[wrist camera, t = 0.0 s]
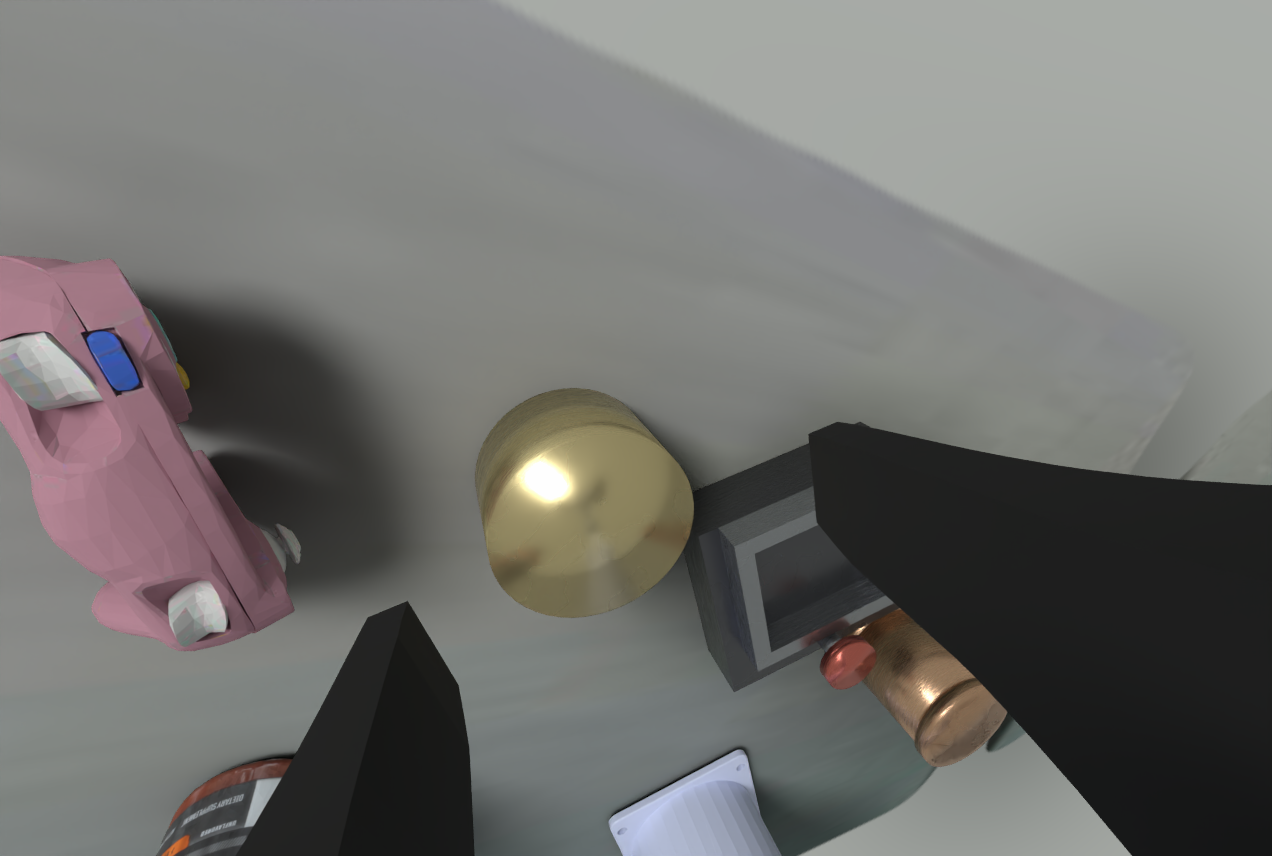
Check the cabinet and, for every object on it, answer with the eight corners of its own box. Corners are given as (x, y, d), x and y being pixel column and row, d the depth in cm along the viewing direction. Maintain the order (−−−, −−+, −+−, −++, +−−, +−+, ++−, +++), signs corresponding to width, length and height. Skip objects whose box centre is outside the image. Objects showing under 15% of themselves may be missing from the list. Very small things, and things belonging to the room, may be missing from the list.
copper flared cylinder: (912, 645, 32) (1005, 734, 27) (841, 682, 31) (923, 782, 26) (912, 585, 30) (1014, 670, 25) (836, 623, 29) (925, 720, 24)
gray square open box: (866, 573, 28) (940, 640, 24) (708, 650, 26) (760, 735, 22) (860, 421, 24) (949, 472, 20) (671, 501, 22) (727, 574, 18)
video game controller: (275, 534, 19) (354, 633, 14) (105, 614, 16) (136, 768, 12) (124, 232, 15) (169, 236, 10) (-146, 270, 12) (-253, 299, 7)
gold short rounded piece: (664, 506, 22) (708, 566, 19) (511, 570, 21) (529, 647, 18) (627, 361, 19) (672, 402, 16) (445, 427, 18) (452, 487, 15)
